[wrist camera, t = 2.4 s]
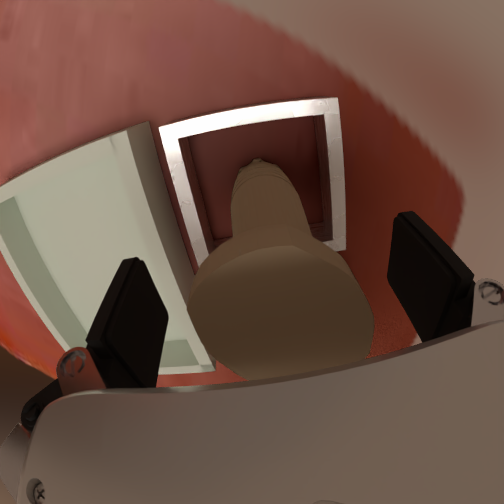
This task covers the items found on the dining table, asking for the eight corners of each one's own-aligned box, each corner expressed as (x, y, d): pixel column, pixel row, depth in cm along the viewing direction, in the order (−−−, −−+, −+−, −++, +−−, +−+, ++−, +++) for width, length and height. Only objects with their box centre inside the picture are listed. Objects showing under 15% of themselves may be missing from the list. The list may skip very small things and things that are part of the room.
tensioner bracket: (334, 315, 29) (355, 378, 22) (230, 332, 29) (229, 399, 23) (324, 96, 18) (372, 103, 11) (169, 121, 18) (129, 143, 11)
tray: (217, 336, 30) (215, 371, 26) (95, 345, 31) (84, 373, 27) (148, 120, 18) (126, 130, 14) (7, 180, 19) (-22, 200, 15)
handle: (261, 124, 19) (310, 209, 6) (309, 193, 22) (392, 349, 9) (206, 163, 20) (152, 309, 7) (257, 226, 23) (278, 401, 10)
